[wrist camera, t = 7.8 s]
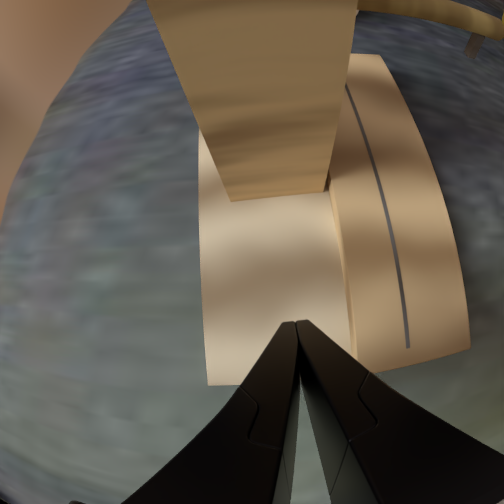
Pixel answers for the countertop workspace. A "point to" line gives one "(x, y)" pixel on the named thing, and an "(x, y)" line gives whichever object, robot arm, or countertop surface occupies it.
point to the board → (337, 247)
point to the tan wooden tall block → (279, 79)
